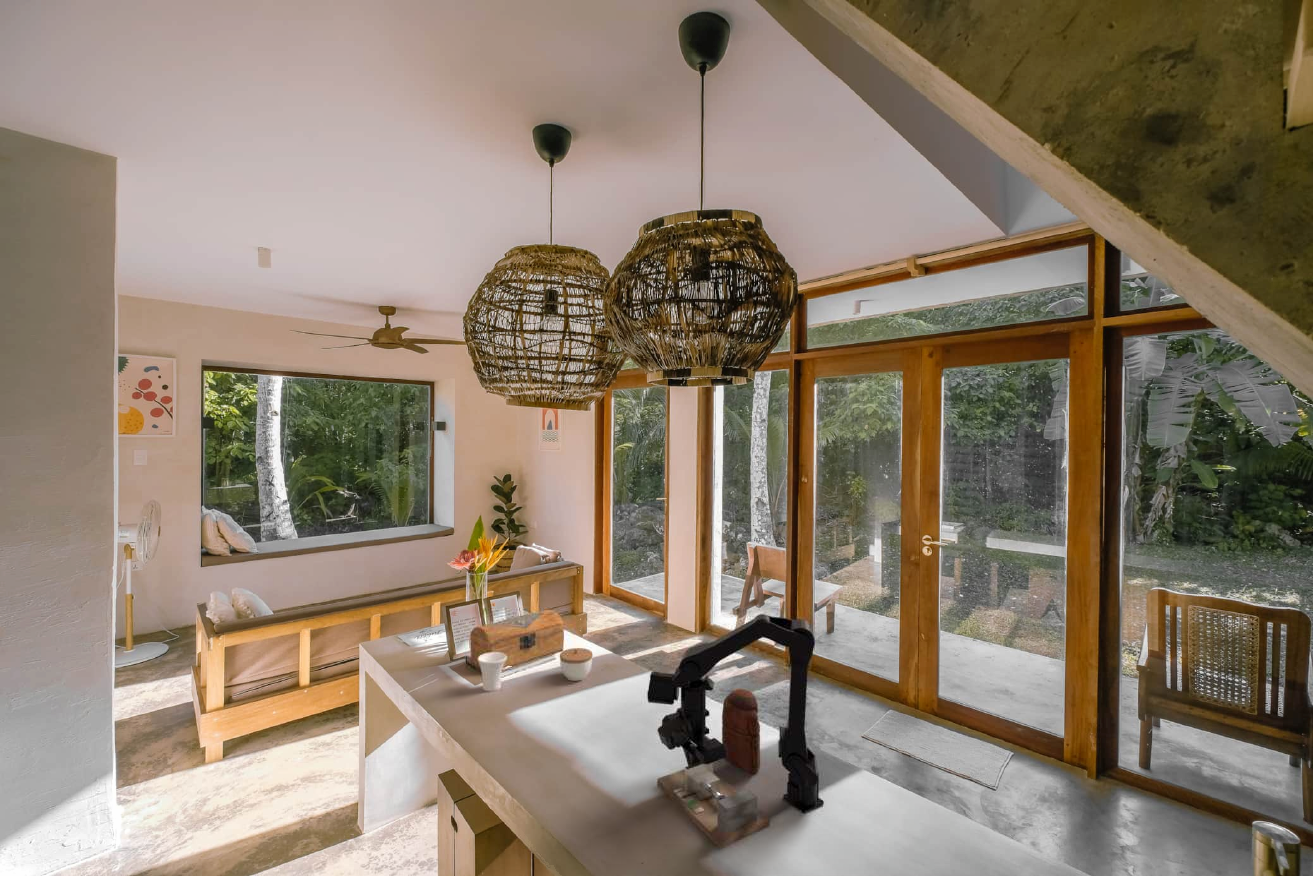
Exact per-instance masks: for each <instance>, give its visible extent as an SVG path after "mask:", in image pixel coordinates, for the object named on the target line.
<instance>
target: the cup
mask: <svg viewBox="0 0 1313 876" xmlns="http://www.w3.org/2000/svg"><path fill="white" fill-rule="evenodd" d="M506 660H507V657H506V655H505V654H504V653H501V652H490V653H485V654H482V655H480V656H479V657H478V662H479V664H480V666H479V667H480V671H481V675H482V676H481V677H482V690H483V691H485V692H496V691H498V690H499V689H500V688H501V687H502V685H501V684H502V672H503V670H502V669H503V665H504V662H505V661H506Z"/></svg>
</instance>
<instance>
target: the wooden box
mask: <svg viewBox="0 0 1313 876" xmlns="http://www.w3.org/2000/svg"><path fill="white" fill-rule="evenodd" d="M564 628H565V625H564V622H563V619H562V617H561V615H560V614H559V613H558V612H556V611H554V610H552V609H546V610H541V611H537V612H533V613H529V614H528V613H526V614H523V615H522V614H521V615H518V616H515V617H510V618H506V619H502V620H499V621H495V622H491V623H488V624H484V625H479V626H476V627H473V629H472V630H471V631H470V632H469V633H470V636H469V639H470V659H471V662H472V663H474V664H475V665H476V666H478V667H480V664H479V662H478V657H479V656H480V655H482V654H485V653H490V652H501V653H504V654H505V655H506V657H507V660H506V661H505V662H504V665H503V668H505V667H507V666H512V667H511V668H514V667H517V666H520V665H523V664H526V663H530V662H533V661H536V660H539V659H541V658H545V657H548V656H547V655H549V656H551V655H550V654H552V655H555V654H557V653H558V654H559V653H561V652H563V651H564V643H565V642H564V641H565V631H564V630H565V629H564ZM538 658H539V659H538Z"/></svg>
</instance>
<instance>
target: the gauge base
mask: <svg viewBox="0 0 1313 876" xmlns="http://www.w3.org/2000/svg"><path fill="white" fill-rule="evenodd" d="M713 774H714V775H715V776H716V777H717V778H719V779H720V793H719V794H720V795H721V794H723V795H724V796H725V797H726V798H724V799H721V800H719V801H718V802H717V799H716V798H715V797H714V796H710V797H708V798H705V799H702V800H701V799H700V798H698V797H697V796H696V795H695V794H694V795H692V796H689V797H687V798H683V797H682V796H683V795H686V794H689V793H692V791H691V790H690V791H688V792H687V791H686V790H685V768H684V769H681V770H678V771H675V772H673V773H672V772H671V773H669V774H666V775H665V776H661V777H658V778H657V779H656V781H657V782H656V784H657V786H658V787H659V788H660V789H661V790H662V791H663V792H664V794H665V795H666V796H667V797H668V798H669V799H670V800H671V801H673V802H674V804H675V805H676V806H677V807H678V808H679V809H680V810H681V811H682V812H683V813H684V814H685V815H686V816H687V817H688V818H689V819H690V820H691V821H692V822H693V823H694V825H696V827H698V828H699V830H701V831H702V832H703V833H704V834H705V836H707V838H708V839H709V840H710V841H712V843H713V844H714V845H715V846H716V847H717V848H718V849H722V848H724V847H726V846H729V845H730V844H733V843H736V842H737V841H740V840H742V839H745V838H746V837H748V836H751V835H753V834H755V833H758V832H761V831H762V830H764V829H767V828H769V827H771V826H770V824H771V823H770V821H771V819H770V818H769V817H768V816H767V815H766V814H765V813H763V812H762V811H761V810H760V809H759V808H758V796H757V795H756V794H755V793H754V792H752V791H751V790H750V789H749V788H747V789H745V790H742V791H740V792H739V791H737V790H736V789H735V788H734V787H733V786H731V785H730V784H729V783H728V782H727V781H725V779H724V778H722V777H721V776H720V775H718V773H716V772H715V771H714V770H713Z"/></svg>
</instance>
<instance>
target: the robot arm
mask: <svg viewBox="0 0 1313 876" xmlns="http://www.w3.org/2000/svg"><path fill="white" fill-rule="evenodd" d="M762 638H764V639H768V640H770V641H772V642H774V643H776V644H778V645H780V646H782V647H786V648H788V653H789V655H788V656H789V661H790V668H789V688H788V689H789V690H788V691H789V692H788V708H787V709H788V710H787V721H786V725H785V727H784V726H782V725H779V727H778V728H779V729H778V730H779V731H778V732H779V734H778V735H779V739H778V741H777V743H778V749H777V750H778V758H781V765H782V766H783V768H784V769H785V770H786V771H788V778H787V779H788V780H787V782H786V789H787V790H786V793H784V794H783V796H782V798H783V799H784V800H785V801H786V802H788V803H789V804H791V805H792V806H793V807H794V808H795V809H797V810H798V811H799V812H801V813H804V814H806V813H807V812H809V811H811V810H814V809H816V808H818V807H821V806H823V805H824V804H825V801H824V800H823V799H822V798H820V795H819V793H820V792H819V790H820V789H819V787H820V783H819V782H820V779H819V778H820V777H819V776H820V774H819V773H820V772H819V770H818V765H817V756H816V755H815V754H814V752H813V751H812V750H811V749H810V748H809V747H808V745H807V736H806V728H805V727H806V726H805V725H806V707H807V705H806V704H807V691H808V690H807V689H808V688H807V687H808V674H809V673H808V669H809V665H810V663H811V660H812V658H813V652H814V649H815V644H816V641H815V635H814V629H813V626H812V624H810V623H809V621H807V620H805V619H802V618H796V619H790V618H786V617H779V616H771V615H767V614H765V613H764V614H762V613H760V614H758V615H756V616H755V617H754V618H752V619H751V620H749V621H748V622H746V623H744V624H742V625H740V626H739V627H737V628H735V629H733V630H731V631H730V632H728V633H726V634H724V635H722V636H720V637H719V638H717V639H715V640H713V641H710V642H705V643H700V644H697V645H695V646H691V647H689V648H687V649H686V650H685V651H684V653H683V655H682V658H681V660H680V662H679V666H678V667H676V668H675V672H674V673H665V672H659V671H651V672H650V675H649V683H648V690H647V702H648V703H649V704H660V705H661V704H662V705H671V706H673V704H675V701H678V700H679V696H680V707H679V708H678V707H677V708H676V711H675V712H673V713H669V714H666V715H664V717H663V718H662V719H661V726H659V727H658V728H657V733H658V736H659V738H660V742H661V744H662V745H664V746H665V747H666V748H667V749H668V750H674V749H676V748H680V747H681V748H682V750H683V752H684V756H685V759H686V763H687V766H690V765H693V764H696V763H699V762H702V763H703V764H710V763H713V764H714V763H715V762H719V761H721V760H726V759H725V758H727V747H726V746H725V745H723V744H722V741H720V740H718V738H716V737H712V738H709V736H707V735H708V734H710V729H709V728H708V727H707V726H706V725H707V724H706V718H707V717H710V710H708V709H707V708H706V704H707V701H706V700H707V699H706V696H707V695H706V694H707V693H706V692H707V691H711V692H712V691H713V690H714V685H715V681H713V680H712V679H711V678H710V676H709V675H707V674H708V673H710V671H712V669H713V668H715V666H716V665H717V664H718V663H720V662H721V661H722V660H725V659H726V658H728V657H729V656H732V655H733V654H735V653H737V652H738V651H740V650H742V649H744V648H746V647H747V646H750V645H751V644H753V643H755V642H756V641H758V640H761V639H762Z"/></svg>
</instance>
